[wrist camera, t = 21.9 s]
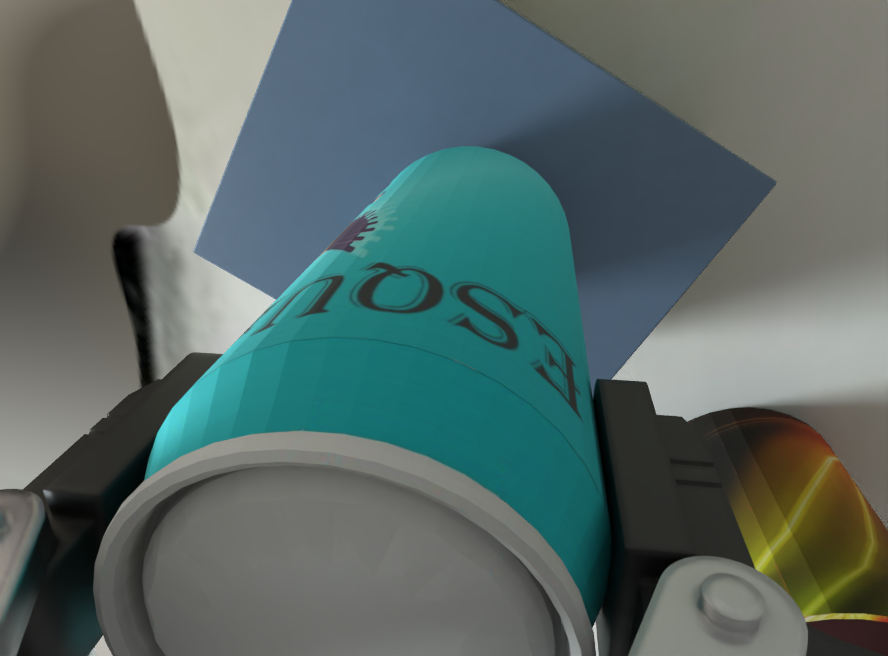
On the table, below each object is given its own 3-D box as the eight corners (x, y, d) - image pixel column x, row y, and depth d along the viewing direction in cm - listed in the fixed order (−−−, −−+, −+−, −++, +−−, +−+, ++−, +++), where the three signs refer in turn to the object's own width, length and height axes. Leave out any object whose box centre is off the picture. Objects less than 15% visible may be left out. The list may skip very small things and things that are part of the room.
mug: (802, 617, 36) (915, 870, 25) (602, 501, 34) (631, 717, 23) (947, 512, 32) (1157, 761, 21) (726, 373, 30) (831, 566, 19)
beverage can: (421, 104, 18) (96, 312, 5) (602, 182, 19) (760, 586, 5) (361, 273, 21) (38, 714, 7) (520, 340, 21) (483, 884, 8)
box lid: (203, 245, 22) (192, 252, 21) (341, -102, 17) (333, -107, 16) (548, 441, 24) (548, 455, 23) (769, 177, 19) (778, 182, 18)
